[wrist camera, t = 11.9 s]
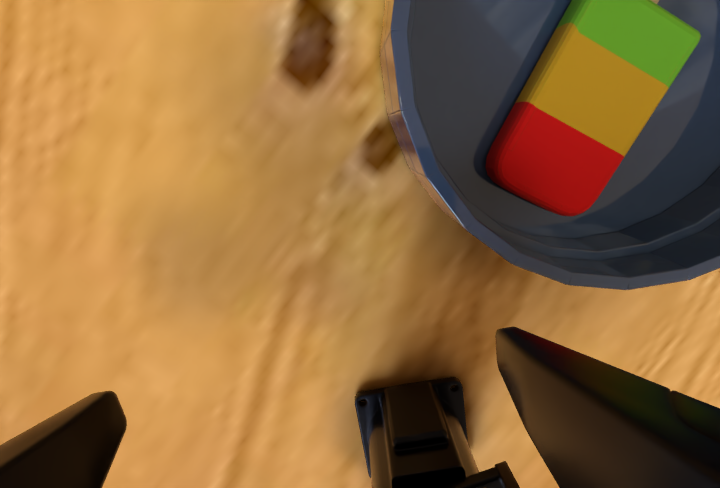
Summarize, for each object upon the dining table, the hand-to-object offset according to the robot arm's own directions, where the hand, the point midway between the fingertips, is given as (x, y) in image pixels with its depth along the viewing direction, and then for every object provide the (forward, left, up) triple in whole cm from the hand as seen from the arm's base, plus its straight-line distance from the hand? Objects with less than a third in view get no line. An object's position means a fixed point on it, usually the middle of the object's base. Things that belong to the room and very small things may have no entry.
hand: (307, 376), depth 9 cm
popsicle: (+7, -14, -12) cm, 20 cm away
